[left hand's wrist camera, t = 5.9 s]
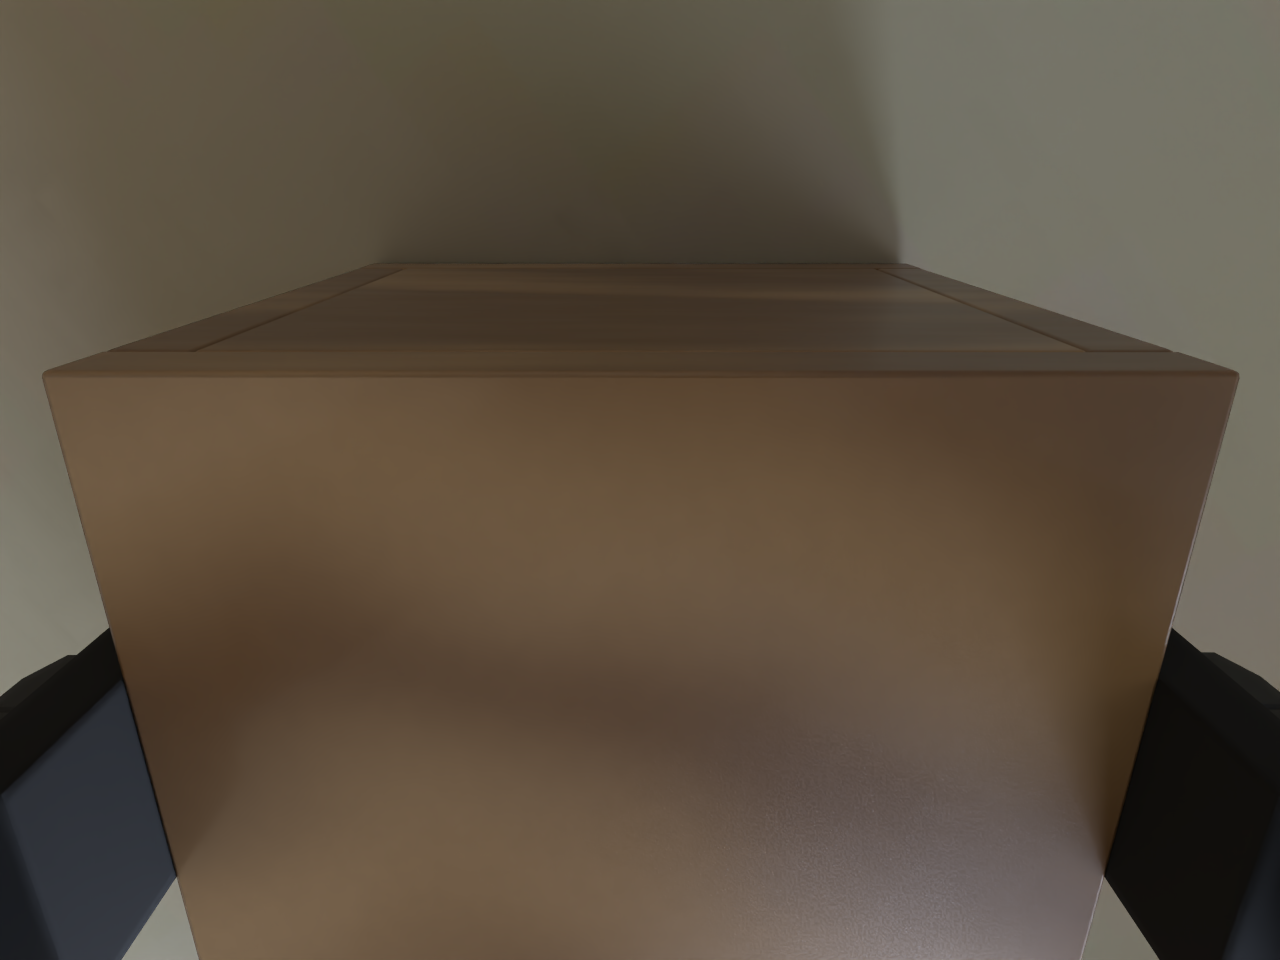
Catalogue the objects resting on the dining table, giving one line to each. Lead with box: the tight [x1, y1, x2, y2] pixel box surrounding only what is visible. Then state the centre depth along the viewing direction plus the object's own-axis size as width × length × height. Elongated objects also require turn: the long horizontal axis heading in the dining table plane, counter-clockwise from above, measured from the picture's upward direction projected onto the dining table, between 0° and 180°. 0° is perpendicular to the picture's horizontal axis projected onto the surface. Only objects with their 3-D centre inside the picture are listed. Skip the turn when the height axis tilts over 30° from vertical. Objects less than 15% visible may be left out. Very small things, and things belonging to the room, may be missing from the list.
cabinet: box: [42, 264, 1239, 960], centre depth 15 cm, size 20×11×10 cm, turn 0°
